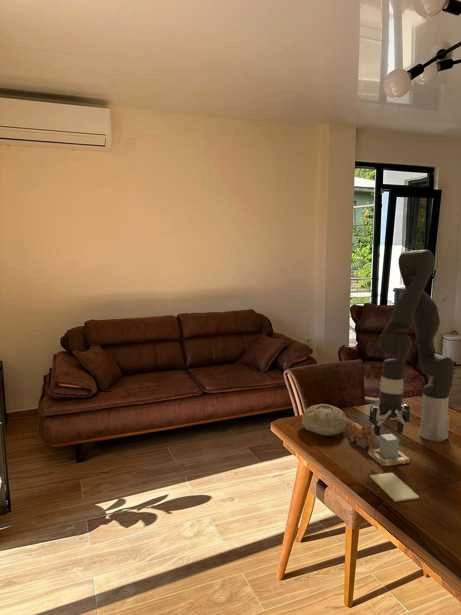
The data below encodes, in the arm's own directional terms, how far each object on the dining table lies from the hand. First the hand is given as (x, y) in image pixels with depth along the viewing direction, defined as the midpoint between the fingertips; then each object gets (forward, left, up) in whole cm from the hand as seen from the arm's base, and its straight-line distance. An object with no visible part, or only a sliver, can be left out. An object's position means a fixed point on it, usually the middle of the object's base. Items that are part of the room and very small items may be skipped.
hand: (388, 433), depth 152 cm
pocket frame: (0, 0, -9) cm, 9 cm away
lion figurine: (+3, -12, -9) cm, 16 cm away
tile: (+9, +17, -9) cm, 21 cm away
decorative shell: (+13, -26, -9) cm, 30 cm away
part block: (0, 0, -9) cm, 9 cm away
